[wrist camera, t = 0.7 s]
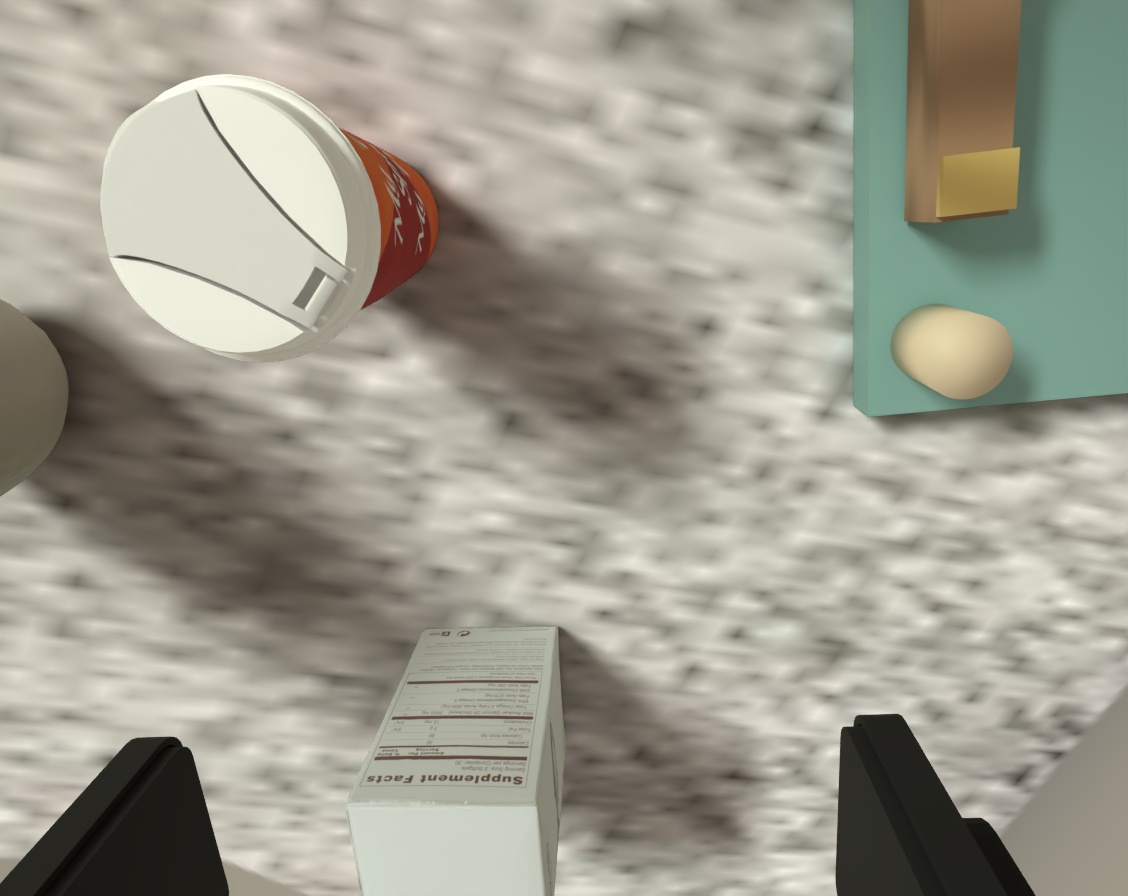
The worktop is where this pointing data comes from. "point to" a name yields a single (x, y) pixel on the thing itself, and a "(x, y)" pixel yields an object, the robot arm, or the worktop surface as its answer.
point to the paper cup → (257, 218)
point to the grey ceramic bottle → (28, 396)
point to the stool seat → (997, 228)
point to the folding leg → (961, 109)
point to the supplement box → (465, 770)
